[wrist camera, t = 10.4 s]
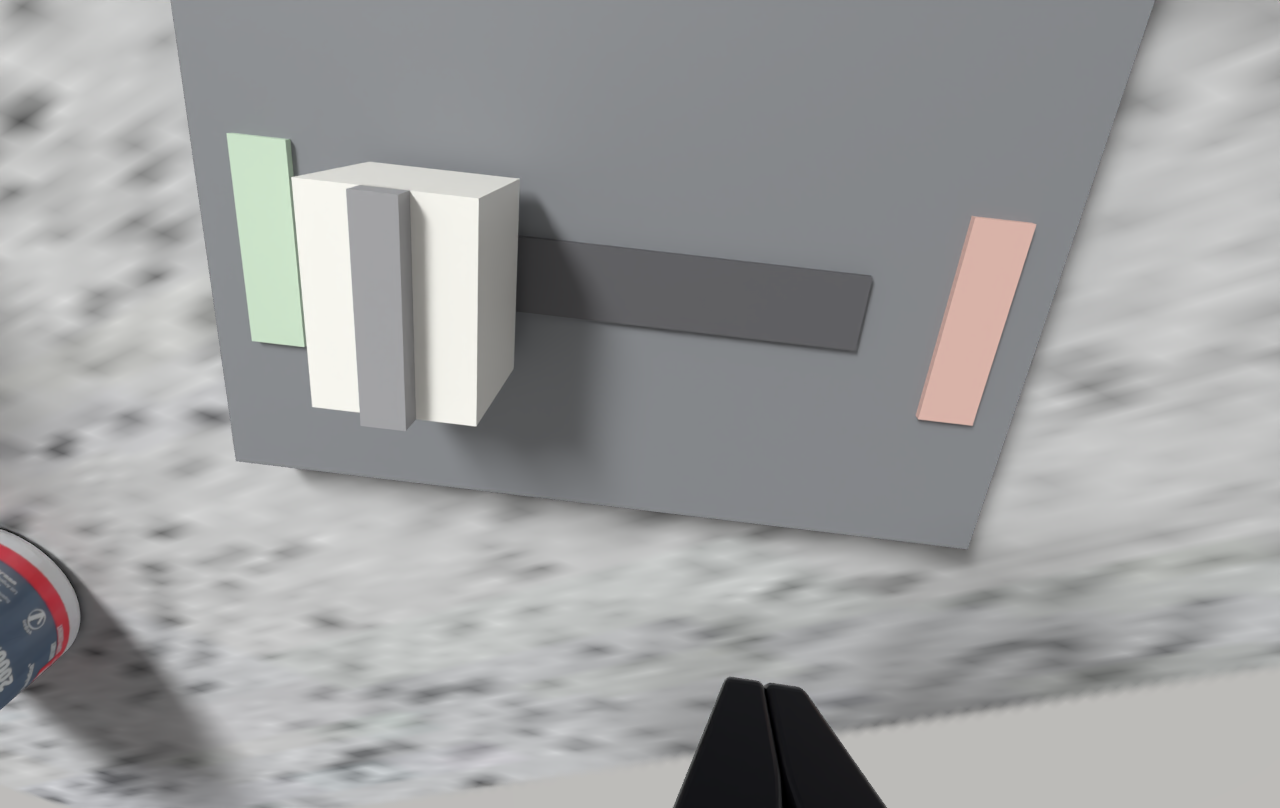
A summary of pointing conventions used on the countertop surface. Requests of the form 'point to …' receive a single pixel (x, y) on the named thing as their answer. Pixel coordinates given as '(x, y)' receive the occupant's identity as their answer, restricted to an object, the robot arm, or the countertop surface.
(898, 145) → the panel
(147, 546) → the countertop surface
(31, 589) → the pill bottle
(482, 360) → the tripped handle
